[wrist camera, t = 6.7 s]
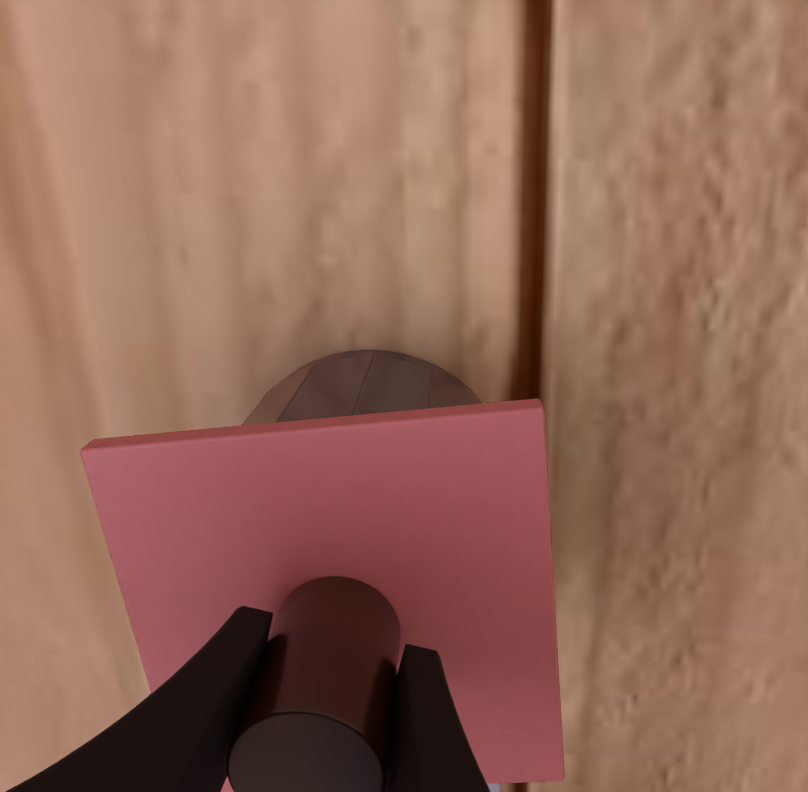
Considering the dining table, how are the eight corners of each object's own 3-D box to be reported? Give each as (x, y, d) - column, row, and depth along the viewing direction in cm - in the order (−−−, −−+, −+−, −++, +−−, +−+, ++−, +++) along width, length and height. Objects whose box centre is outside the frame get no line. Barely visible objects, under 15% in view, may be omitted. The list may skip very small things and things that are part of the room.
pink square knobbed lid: (560, 760, 16) (600, 961, 12) (189, 775, 16) (108, 969, 12) (540, 397, 13) (583, 500, 9) (92, 438, 14) (-53, 550, 10)
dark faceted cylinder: (469, 620, 22) (479, 794, 16) (222, 562, 22) (136, 715, 16) (544, 388, 20) (591, 489, 13) (263, 319, 19) (178, 391, 13)
